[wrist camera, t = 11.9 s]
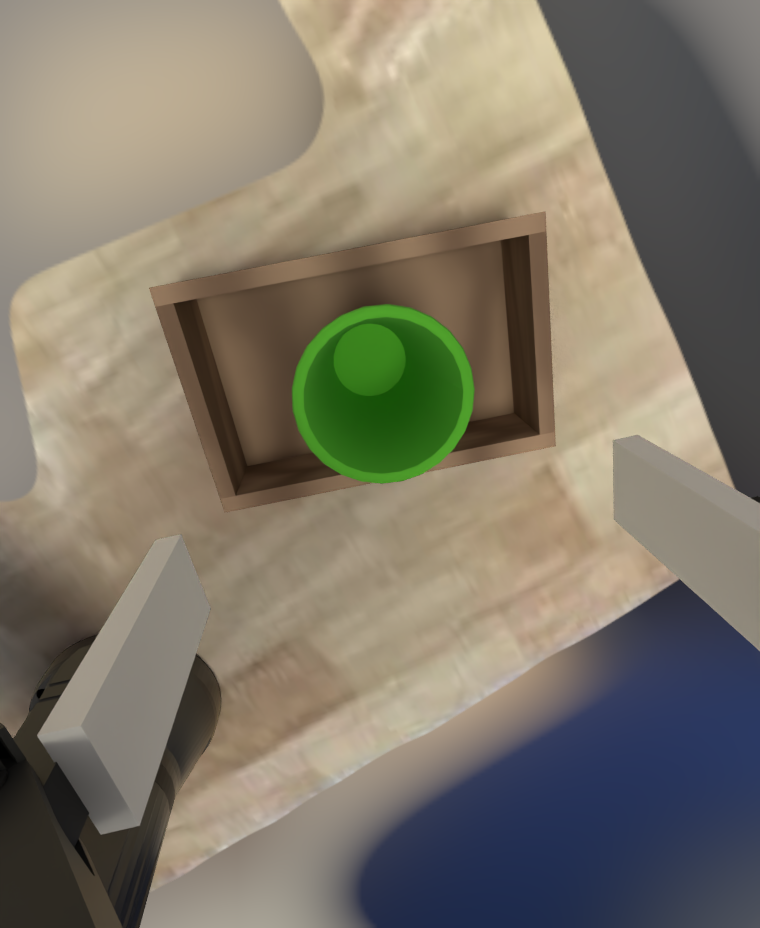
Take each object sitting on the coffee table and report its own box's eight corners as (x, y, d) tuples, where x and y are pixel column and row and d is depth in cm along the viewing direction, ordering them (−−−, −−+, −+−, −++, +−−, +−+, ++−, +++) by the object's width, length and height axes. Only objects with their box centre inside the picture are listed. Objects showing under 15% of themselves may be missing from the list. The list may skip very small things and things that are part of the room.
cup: (292, 297, 33) (276, 316, 23) (430, 283, 33) (473, 295, 23) (312, 428, 36) (306, 494, 26) (437, 413, 37) (477, 473, 27)
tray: (239, 475, 38) (224, 512, 33) (179, 282, 33) (148, 287, 27) (523, 419, 39) (555, 446, 33) (509, 219, 33) (545, 211, 28)
